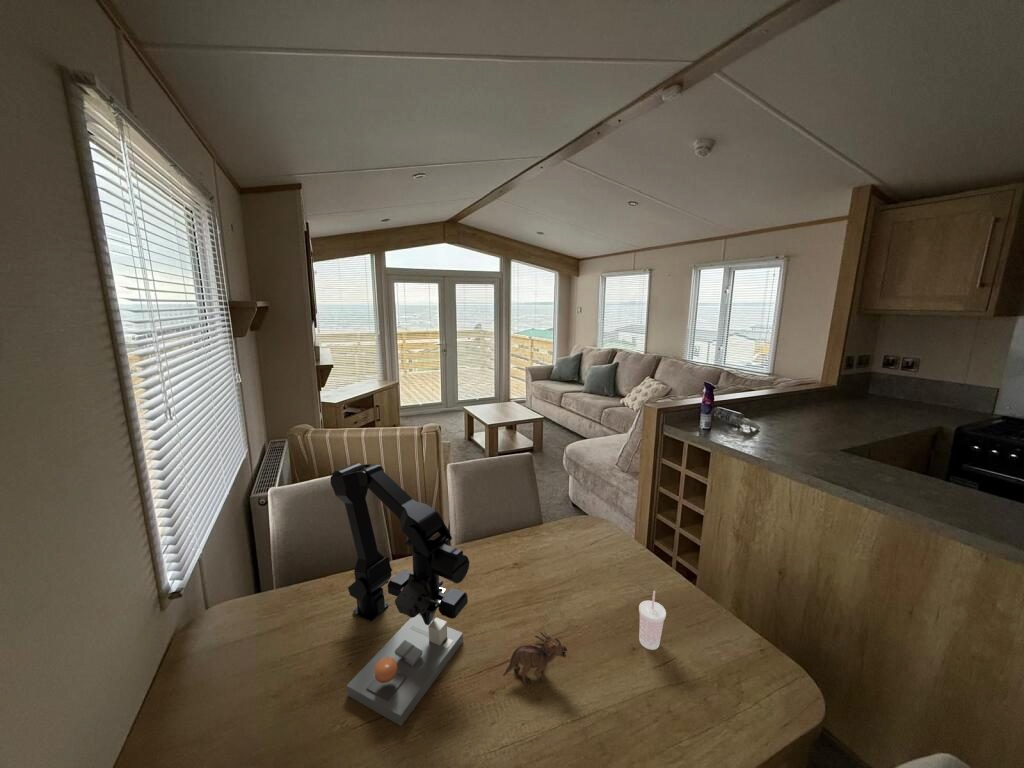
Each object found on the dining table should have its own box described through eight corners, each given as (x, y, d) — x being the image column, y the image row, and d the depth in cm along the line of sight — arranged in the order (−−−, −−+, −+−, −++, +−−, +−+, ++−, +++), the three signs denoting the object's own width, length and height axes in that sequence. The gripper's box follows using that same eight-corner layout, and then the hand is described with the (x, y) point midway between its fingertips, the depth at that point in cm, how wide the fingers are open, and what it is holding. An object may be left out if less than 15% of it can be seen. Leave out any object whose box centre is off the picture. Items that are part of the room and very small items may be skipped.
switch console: (347, 695, 86) (346, 684, 85) (415, 621, 105) (415, 612, 105) (401, 726, 80) (400, 714, 79) (462, 641, 99) (462, 631, 99)
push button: (370, 681, 84) (369, 671, 84) (385, 664, 88) (384, 654, 88) (387, 690, 83) (386, 679, 82) (401, 672, 86) (401, 662, 86)
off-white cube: (429, 640, 96) (428, 626, 95) (436, 631, 99) (436, 617, 98) (439, 645, 95) (439, 630, 94) (447, 636, 98) (446, 621, 97)
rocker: (394, 654, 91) (395, 650, 91) (404, 643, 94) (404, 639, 94) (412, 666, 90) (413, 662, 89) (422, 654, 92) (422, 650, 92)
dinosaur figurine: (558, 656, 96) (560, 622, 94) (566, 679, 90) (567, 643, 88) (499, 664, 93) (500, 629, 91) (503, 688, 88) (503, 652, 86)
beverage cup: (667, 641, 100) (672, 590, 97) (655, 657, 96) (661, 604, 93) (643, 627, 104) (647, 578, 101) (631, 642, 100) (635, 591, 97)
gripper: (368, 573, 91) (372, 634, 94) (439, 601, 83) (441, 666, 86) (402, 546, 101) (405, 602, 104) (468, 569, 93) (469, 628, 96)
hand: (428, 623), depth 97 cm, fingers closed
